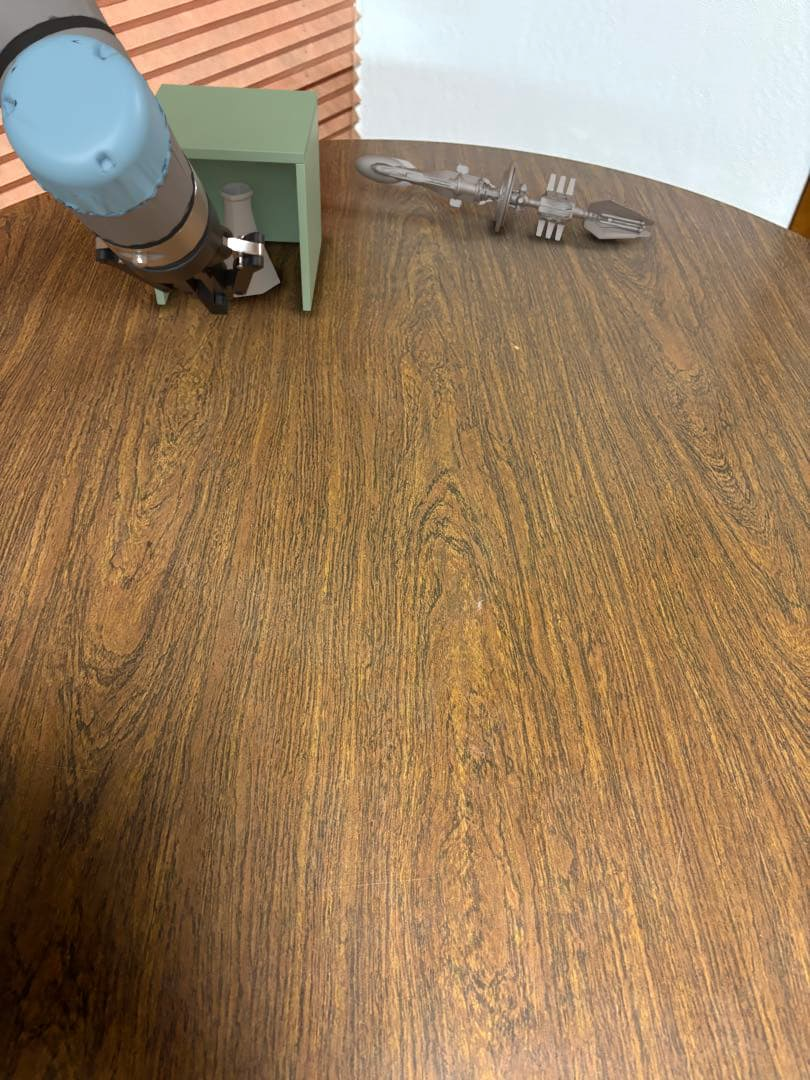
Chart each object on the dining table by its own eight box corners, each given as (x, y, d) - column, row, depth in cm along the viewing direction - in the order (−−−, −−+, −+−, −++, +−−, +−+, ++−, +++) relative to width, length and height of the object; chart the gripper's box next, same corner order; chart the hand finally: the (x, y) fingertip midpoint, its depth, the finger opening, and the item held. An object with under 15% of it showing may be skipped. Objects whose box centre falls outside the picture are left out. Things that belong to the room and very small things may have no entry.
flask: (231, 306, 88) (220, 212, 81) (198, 275, 92) (184, 183, 84) (292, 286, 91) (286, 194, 84) (257, 257, 95) (249, 166, 87)
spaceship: (365, 126, 101) (355, 124, 94) (656, 190, 101) (668, 194, 93) (354, 197, 104) (343, 201, 97) (635, 260, 104) (645, 268, 97)
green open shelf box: (310, 311, 88) (304, 153, 76) (157, 304, 87) (127, 144, 76) (321, 240, 98) (317, 91, 86) (184, 234, 98) (161, 83, 86)
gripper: (53, 266, 57) (149, 337, 81) (250, 274, 58) (288, 343, 81) (56, 151, 57) (151, 256, 80) (253, 160, 57) (291, 262, 81)
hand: (220, 300), depth 81 cm, fingers closed
